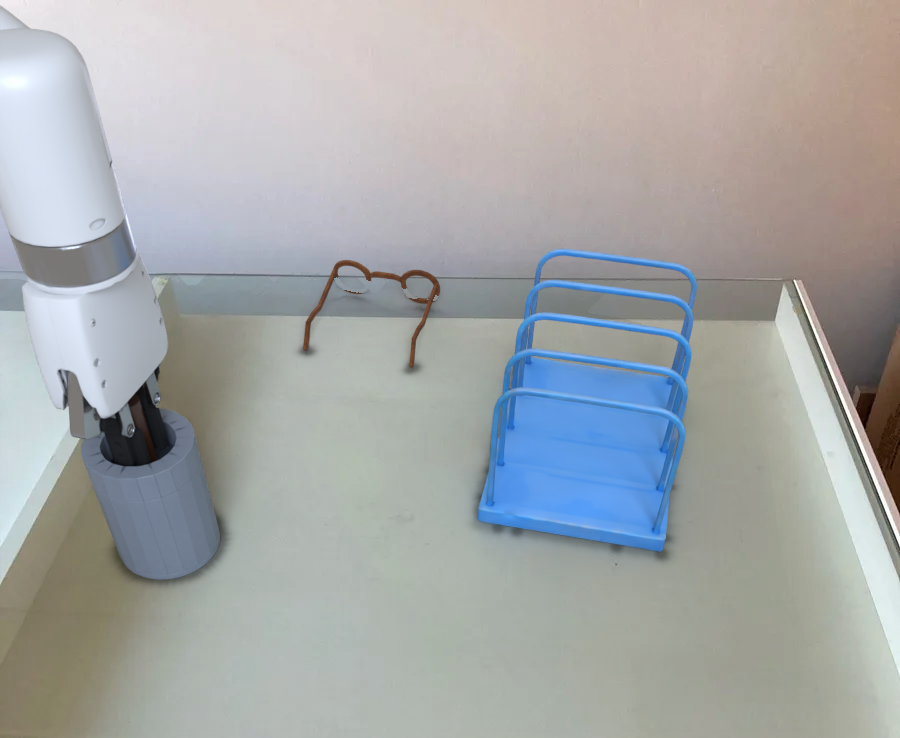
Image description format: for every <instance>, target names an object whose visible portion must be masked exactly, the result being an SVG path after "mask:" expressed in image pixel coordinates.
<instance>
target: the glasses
mask: <svg viewBox="0 0 900 738" xmlns="http://www.w3.org/2000/svg"><path fill="white" fill-rule="evenodd" d="M342 267H352V268H356V269H358V270H359V271H360V272H361V273H363V275H364V277H365V281H366V280H368V281H371V282H372V278H379V279H384V280H385V279H386V280H391V281H396V282H399V283H400V287H401V289H402V288H403V289H406V288H407V289H408V286H407V280H408V279H409V278H411V277H416V276H417V277H423V278H425V279H427V280H429V282H431V283H432V285H433V286H432V290H431V292H430V294H429V297H425V298H424V297H419V298H417V299H412V298H408V300H409V301H411V302H414V303H416V304H421V305H426V306H425V308H424V312H423V315H422V317H421V321H420V322H419V324H417V326H416V328H415V330H414V332H413V334H412V336H411V342H410V353H409V363H408V366H409V368H410V369H414V367H415V358H416V347H417V340H418V337H419V336H420V333H421V332H422V330H423V329H424V327H425V325H426V322H427V320H428V316H429V314H430V311H431V308H432V305H433V303H435V302H436V301H433V299H434V297H435V295H437V296H439V297H440V293H441V285H440V281H438V279H437V277H436V276H435V275H433V274H432V273H430V272H428V271H426V270H421V269H411V270H408V271H405V272H404V273H403V274H401V276H400V275H398V274H396V273H394V272H393V273H392V272H386V271H379V270H378V271H372V272H370V270H369V269H368V268H367V267H366V266H365V265H364V264H362V263H360V262H358V261H355V260H351V259H341V260H339V261H337V262H336V263H335V264H334V266H333V268H332V270H331V273H330V275H329V277H328V280H327V282H326V284H325V287H324V289H323V291H322V293H321V296H320V297H319V298H320V299H319V301H318V303H317V305H316V306H315V308H313V310H311V312H310V313H309V315H308V317H307V319H306V320H305V326H304V333H303V334H304V336H303V344H302V350H303V351H305V352H309V346H310V337H311V327H312V323H313V322H314V320H315V318H316V316H317V315H318V314H319V313H320V312H321V311H322V309H323V308H324V305H325V302H326V300H327V298H328V295H329V292H330V290H331V287H332V285H333V283H334V282H335V281H334V278H336V277H337V278H338V277H339V269H340V268H342ZM339 278H340V277H339ZM343 291H344V292H346V293H349V294H353V295H362V293H359V292H358V293H356V292H351V291H347V290H343ZM427 298H429V300H427Z"/></svg>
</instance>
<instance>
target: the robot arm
mask: <svg viewBox="0 0 900 738" xmlns="http://www.w3.org/2000/svg"><path fill="white" fill-rule="evenodd" d="M99 109H100V108H99V106H98V102H97V99H96V95H95V91H94V87H93V84H92V80H91V75H90V73H89V69H88V66H87V63H86V61H85V59H84V57H83V55H82V54H81V52H80V50H79V49H78V48H77V46H76V45H75V44H74V43H73V42H72V41H70V40H69V39H68V38H66V37H65V36H63V35H61V34H59V33H57V32H53V31H50V30H44V29H38V28H31V27H29V26H28V25H27V24H26V23H24V22H23V21H22V20H21V19H19V18H18V17H17V16H15V14H13V13H11V12H10V10H7V9H6V8H5V7H3V6H2V5H0V213H1V216H2V219H3V221H4V223H5V226H6V229H7V231H8V234H9V237H10V239H11V242H12V245H13V248H14V250H15V253H16V255H17V258H18V261H19V263H20V266H21V268H22V271H23V273H24V274H23V275H24V276H25V279H26V281H25V283H23V285H22V287H21V293H22V295H21V296H22V304H23V308H24V310H23V311H24V315H25V320H26V325H27V329H28V334H29V338H30V341H31V346H32V349H33V353H34V355H35V359H36V362H37V365H38V369H39V372H40V375H41V378H42V381H43V383H44V386H45V389H46V392H47V394H48V397H49V399H50V401H51V403H52V405H53V407H54V408H56V409H57V410H62V411H65V410H66V409H67V408H68V416H69V417H68V418H69V433H70V436H71V437H73V438H77V439H81V440H84V439H85V440H90V439H92V438H95V437H97V436H99V435H101V433H104V434H105V436H106V439H107V442H108V445H109V448H110V450H111V453H112V456H113V459H114V461H115V463H116V464H118V465H121V466H142V465H147V464H150V463H152V461H151V458H150V454H149V451H148V448H147V445H146V442H145V438H144V435H143V432H142V430H141V429H139V428H135V425H134V422H133V418H132V415H131V412H130V409H129V405H128V401H129V399H130V398H131V397H132V396H133V395H134V394H136V395H138V396H139V398H140V401H141V405H142V408H143V411H144V415H145V418H146V421H147V424H148V428H149V431H150V434H151V438H152V441H153V444H154V447H155V448H157V449H161V450H162V449H166V448H167V446H168V445H169V441H168V437H167V434H166V430H165V427H164V424H163V420H162V417H161V413H160V410H159V408H160V407H157V406H159V405H160V403H161V400H162V394H161V391H160V386H159V384H158V381H159V376H160V372H161V370H160V366H161V364H162V362H163V360H164V359H165V357H166V355H167V353H168V350H169V340H168V333H167V329H166V324H165V320H164V317H163V313H162V309H161V306H160V303H159V300H158V297H157V293H156V290H155V288H154V285H153V282H152V279H151V277H150V274H149V271H148V269H147V267H146V265H145V262H144V260H143V258H142V255H141V253H140V251H139V249H138V247H137V245H136V243H135V241H134V237H133V233H132V229H131V225H130V221H129V218H128V214H127V211H126V207H125V203H124V199H123V195H122V193H121V187H120V185H119V179H118V177H117V173H116V169H115V165H114V162H113V158H112V155H111V151H110V147H109V144H108V139H107V135H106V132H105V128H104V125H103V121H102V117H101V114H100V110H99ZM114 414H115V417H116V418H112V417H111V416H112V415H114Z"/></svg>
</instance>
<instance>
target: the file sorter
mask: <svg viewBox="0 0 900 738" xmlns="http://www.w3.org/2000/svg"><path fill="white" fill-rule="evenodd" d="M555 257H571V258H572V257H574V258H582V259H587V260H589V259H590V260H598V261H607V262H614V263H620V264H629V265H634V266H643V267H651V268H657V269H663V270H670V271H671V270H672V271H676V272H679V273H681V274H683V275H684V276H685V277H686V278H687V279H688V281H689V282H690V286H691V287H690V289H691V291H690V294H689V300H688V302H687V301H686V300H684V299H683V298H681V297H679V296H677V295H673V294H668V293H661V292H654V291H646V290H639V289H632V288H626V287H625V288H624V287H618V286H611V285H610V286H609V285H602V284H595V283H587V282H578V281H570V280H563V279H547V280H543V281H541V276H542V275H541V274H542V269H543V267H544V265H545V264H546V263H547V262H548V261H549V260H551V259H553V258H555ZM540 281H541V282H540ZM548 288H561V289H569V290H575V291H583V292H592V293H593V292H594V293H599V294H600V293H601V294H609V295H617V296H623V297H629V298H630V297H631V298H638V299H645V300H653V301H659V302H667V303H671V304H674V305H676V306H678V307H680V308H681V309H682V310H683V311H684V312H685V315H684V319H683V323H682V327H681V331H680V333H679V332H678V331H676V330H673V329H669V328H664V327H657V326H650V325H644V324H638V323H630V322H623V321H617V320H608V319H600V318H595V317H587V316H579V315H573V314H565V313H558V312H557V313H556V312H548V311H547V312H546V311H543V312H537V307H538V306H537V305H538V298H539V292H540V291H541V290H544V289H548ZM697 290H698V282H697V279H696V276H695V274H694V273H693V272H692V270H691V269H690V268H688V267H687V266H685V265H683V264H681V263H678V262H677V263H676V262H672V261H671V262H670V261H665V260H657V259H650V258H643V257H635V256H627V255H621V254H613V253H605V252H597V251H588V250H580V249H571V248H555V249H553V250H550V251H548V252H547V253H545V254H544V255H543V256H542V257H541V258H540V259H539V261H538V264H537V265H536V269H535V274H534V281H533V287H532V288H531V289H530V290H529V292H528V294H527V295H526V300H525V304H524V305H525V306H524V314H523V321H521V323H520V325H519V326H518V329H517V332H516V337H515V345H514V354H513V355H512V356H511V357H510V358H509V359H508V361H507V363H506V366H505V369H504V373H503V382H502V394H501V395H500V396H499V397H498V398H497V400H496V402H495V404H494V407H493V414H492V421H491V433H490V434H491V435H490V448H489V460H488V462H489V463H488V472H487V475H486V478H485V483H484V486H483V491H482V494H481V496H480V500H479V504H478V508H477V509H478V510H477V518H476V519H477V521H478V522H481V523H488V524H494V525H500V526H504V527H505V526H507V527H513V528H518V529H524V530H530V531H535V532H536V531H537V532H541V533H542V532H543V533H549V534H554V535H560V536H566V537H572V538H577V539H578V538H579V539H584V540H590V541H596V542H602V543H603V542H604V543H609V544H613V545H621V546H625V547H632V548H636V549H642V550H643V549H644V550H650V551H654V552H662V551H663V550H664V547H665V543H666V540H667V530H668V518H669V508H670V507H669V506H670V497H671V493H672V489H673V486H674V482H675V479H676V475H677V472H678V468H679V464H680V461H681V457H682V454H683V450H684V446H685V442H686V428H685V424H684V422H683V419H684V416H685V412H686V407H687V404H688V397H689V388H688V384H687V382H686V381H687V377H688V374H689V370H690V366H691V361H692V355H693V354H692V346H691V345H690V340H691V335H692V331H693V327H694V313H693V309H694V305H695V300H696V296H697ZM539 321H553V322H562V323H569V324H576V325H584V326H592V327H600V328H607V329H612V330H613V329H614V330H620V331H628V332H635V333H641V334H647V335H654V336H661V337H662V336H663V337H665V338H670V339H672V340H674V341H676V342H677V346H676V349H675V354H674V358H673V360H672V365H671V368H670V367H666V366H662V365H657V364H651V363H644V362H639V361H638V362H637V361H632V360H625V359H619V358H618V359H617V358H611V357H603V356H598V355H589V354H583V353H575V352H567V351H560V350H555V349H554V350H553V349H545V348H533V341H534V333H535V324H536V323H535V322H539ZM539 357H540V358H539ZM545 358H546V359H545ZM553 359H555V360H553ZM561 360H562V361H561ZM575 362H577V363H575ZM581 363H583V364H581ZM587 364H591V365H587ZM595 365H597V366H595ZM601 366H606V367H601ZM608 367H613V368H608ZM615 368H617V369H615ZM618 368H619V369H618ZM622 369H626V370H622ZM628 370H634V371H628ZM635 371H636V372H635ZM637 371H639V372H637ZM641 372H644V373H641ZM645 372H646V373H645ZM511 373H512V374H511ZM649 373H651V374H649ZM656 374H659V375H656ZM511 375H512V376H511ZM661 375H662V376H661ZM663 375H664V376H663ZM511 378H512V379H511ZM510 379H511V382H510ZM510 383H511V384H510ZM510 385H511V387H510Z"/></svg>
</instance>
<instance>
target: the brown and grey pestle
mask: <svg viewBox="0 0 900 738" xmlns="http://www.w3.org/2000/svg"><path fill="white" fill-rule="evenodd" d="M128 405H129V409H130V412H131V415H132V418H133V422H134V425H135V428H139V429H141V430H142V432H143V435H144V438H145V442H146V445H147V448H148V451H149V454H150V458H151V461H152V463H153V462H155V461H157V460H158V457H157V454H156V451H155V447H154V444H153V441H152V438H151V434H150V431H149V428H148V424H147V421H146V418H145V415H144V411H143V408H142V405H141V401H140V398H139V396H138V395H136V394H134V395H133V396H132V397H131V398H130V399H129V401H128Z"/></svg>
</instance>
